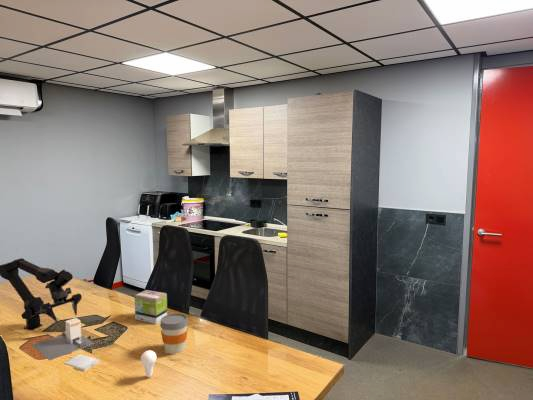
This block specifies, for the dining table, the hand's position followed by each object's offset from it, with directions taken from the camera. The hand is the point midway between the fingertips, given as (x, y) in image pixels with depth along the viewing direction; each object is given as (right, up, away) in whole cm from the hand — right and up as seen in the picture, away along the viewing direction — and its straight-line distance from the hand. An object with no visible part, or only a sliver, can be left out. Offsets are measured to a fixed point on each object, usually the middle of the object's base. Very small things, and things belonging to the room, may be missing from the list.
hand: (66, 318), depth 185 cm
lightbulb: (+53, -13, -35) cm, 64 cm away
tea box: (+36, -8, +22) cm, 43 cm away
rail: (+6, -10, -5) cm, 12 cm away
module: (+6, -10, -5) cm, 12 cm away
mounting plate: (+3, -10, -8) cm, 14 cm away
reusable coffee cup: (+58, -11, -12) cm, 60 cm away
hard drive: (+20, -13, -24) cm, 34 cm away
